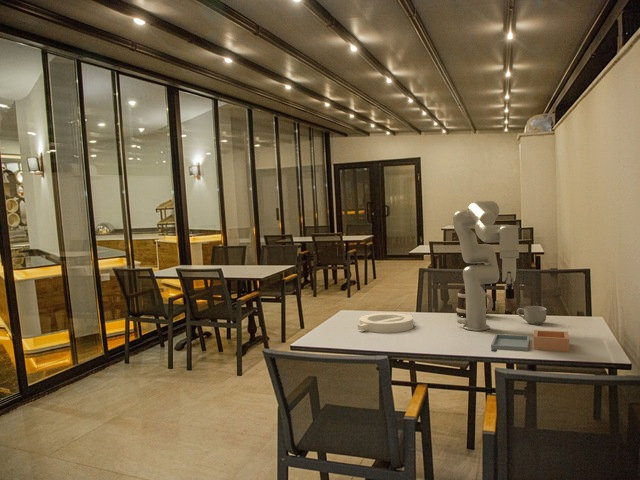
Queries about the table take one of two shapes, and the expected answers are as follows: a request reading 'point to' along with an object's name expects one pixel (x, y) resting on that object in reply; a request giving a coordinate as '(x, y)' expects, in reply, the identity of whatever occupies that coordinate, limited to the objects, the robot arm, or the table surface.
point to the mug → (462, 303)
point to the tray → (510, 342)
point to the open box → (551, 340)
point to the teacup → (533, 314)
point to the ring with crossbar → (386, 322)
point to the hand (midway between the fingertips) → (510, 297)
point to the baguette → (510, 301)
